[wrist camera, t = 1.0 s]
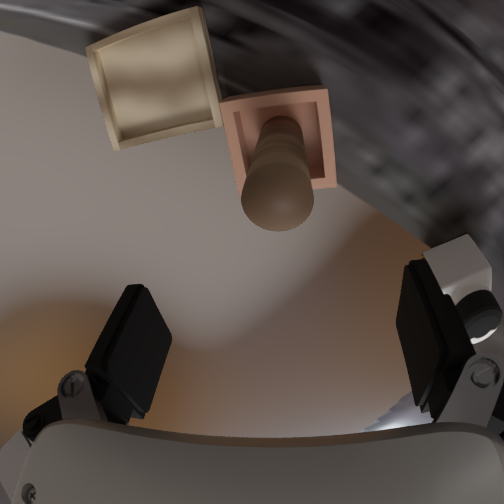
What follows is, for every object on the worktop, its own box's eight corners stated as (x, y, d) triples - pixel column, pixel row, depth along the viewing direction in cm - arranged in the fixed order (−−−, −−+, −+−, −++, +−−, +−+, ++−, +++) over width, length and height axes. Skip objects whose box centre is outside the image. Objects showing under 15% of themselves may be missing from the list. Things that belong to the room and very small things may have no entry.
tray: (95, 46, 24) (85, 47, 23) (202, 8, 22) (197, 5, 21) (122, 145, 31) (114, 151, 30) (227, 121, 29) (223, 126, 27)
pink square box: (227, 96, 28) (219, 103, 24) (322, 84, 26) (327, 89, 23) (244, 180, 33) (239, 197, 29) (331, 171, 31) (336, 187, 28)
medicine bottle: (420, 251, 35) (453, 323, 26) (467, 232, 33) (511, 297, 23) (427, 289, 39) (454, 359, 29) (471, 271, 36) (505, 336, 26)
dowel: (257, 118, 28) (234, 171, 17) (299, 113, 27) (310, 162, 16) (264, 157, 30) (248, 234, 19) (305, 152, 29) (316, 228, 18)
